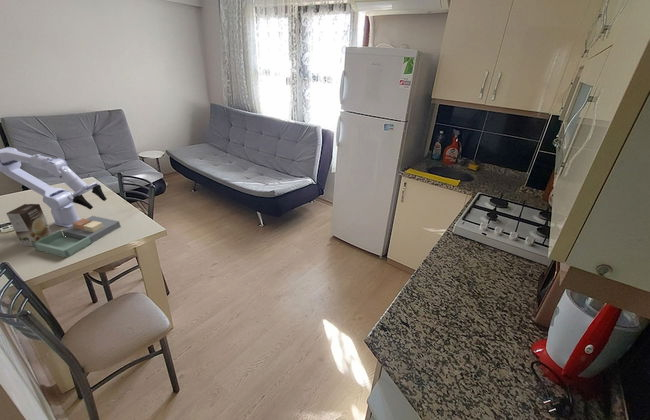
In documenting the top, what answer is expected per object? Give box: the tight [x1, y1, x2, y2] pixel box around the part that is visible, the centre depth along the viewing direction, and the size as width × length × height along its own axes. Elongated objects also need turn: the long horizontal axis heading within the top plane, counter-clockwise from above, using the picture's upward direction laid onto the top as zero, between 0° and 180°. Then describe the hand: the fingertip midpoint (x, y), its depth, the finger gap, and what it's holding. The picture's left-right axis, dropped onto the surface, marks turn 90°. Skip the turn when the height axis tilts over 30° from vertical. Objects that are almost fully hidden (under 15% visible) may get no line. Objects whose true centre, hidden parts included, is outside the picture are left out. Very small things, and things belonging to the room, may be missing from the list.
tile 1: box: [72, 218, 91, 230], centre depth 137 cm, size 5×5×2 cm
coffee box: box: [6, 203, 53, 247], centre depth 127 cm, size 9×6×16 cm
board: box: [61, 215, 121, 244], centre depth 139 cm, size 16×15×3 cm
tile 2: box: [83, 221, 103, 232], centre depth 135 cm, size 5×5×2 cm
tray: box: [33, 229, 93, 259], centre depth 127 cm, size 17×11×4 cm, turn 76°
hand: (98, 204), depth 138 cm, fingers open, 7 cm apart
